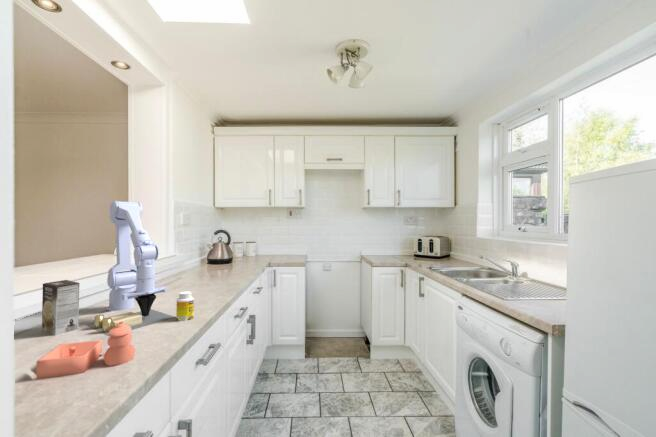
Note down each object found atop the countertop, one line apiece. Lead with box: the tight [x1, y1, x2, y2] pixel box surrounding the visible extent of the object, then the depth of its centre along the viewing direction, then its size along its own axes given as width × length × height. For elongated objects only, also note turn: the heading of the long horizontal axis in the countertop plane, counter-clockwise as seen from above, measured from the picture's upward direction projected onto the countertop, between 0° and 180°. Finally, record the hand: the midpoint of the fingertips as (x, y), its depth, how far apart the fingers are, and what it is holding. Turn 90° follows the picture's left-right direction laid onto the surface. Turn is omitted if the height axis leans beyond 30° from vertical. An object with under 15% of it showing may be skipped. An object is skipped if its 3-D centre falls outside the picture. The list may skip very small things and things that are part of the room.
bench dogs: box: [93, 314, 112, 334], centre depth 94 cm, size 8×2×4 cm, turn 58°
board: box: [86, 308, 176, 337], centre depth 102 cm, size 18×21×1 cm
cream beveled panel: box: [106, 311, 142, 328], centre depth 98 cm, size 8×8×2 cm
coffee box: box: [41, 279, 80, 336], centre depth 93 cm, size 9×6×16 cm
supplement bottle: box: [175, 290, 195, 322], centre depth 105 cm, size 6×6×10 cm
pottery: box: [35, 322, 136, 380], centre depth 73 cm, size 18×10×10 cm, turn 108°
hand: (145, 315), depth 105 cm, fingers closed
